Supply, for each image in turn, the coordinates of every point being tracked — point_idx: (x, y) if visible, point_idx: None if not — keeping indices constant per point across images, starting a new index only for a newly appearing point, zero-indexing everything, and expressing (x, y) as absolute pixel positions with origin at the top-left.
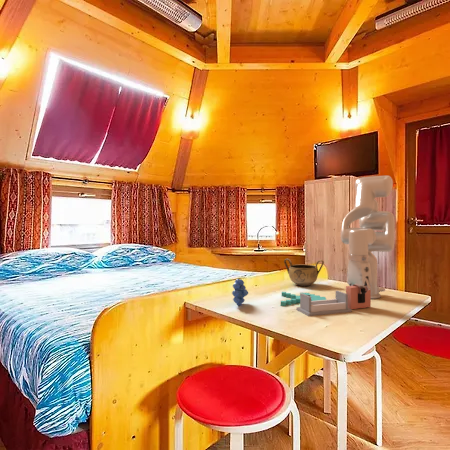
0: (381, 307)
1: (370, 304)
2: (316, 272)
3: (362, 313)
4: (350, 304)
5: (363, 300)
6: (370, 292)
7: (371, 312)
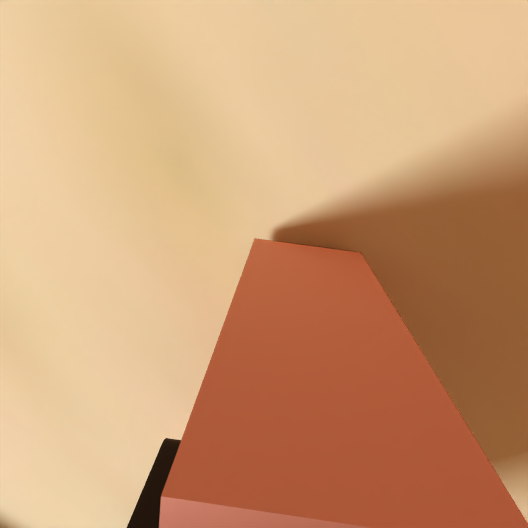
0: (425, 69)
1: (366, 264)
2: None
3: None
4: None
5: None
6: (428, 368)
7: (511, 412)
